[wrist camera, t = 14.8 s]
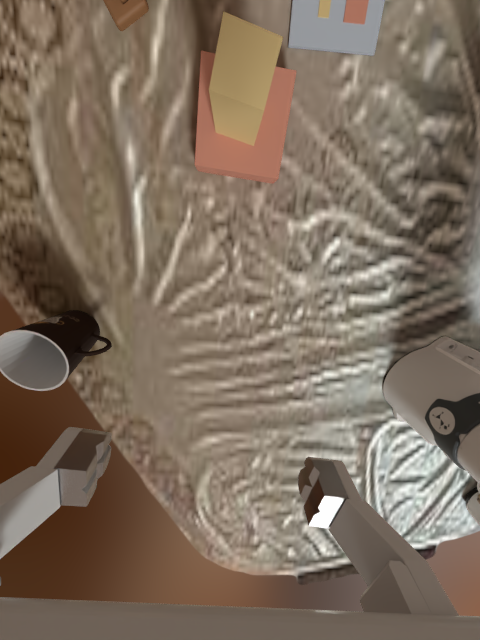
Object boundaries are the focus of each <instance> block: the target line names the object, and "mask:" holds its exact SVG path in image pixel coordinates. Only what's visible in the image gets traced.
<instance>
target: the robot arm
mask: <svg viewBox="0 0 480 640" xmlns="http://www.w3.org/2000/svg"><path fill="white" fill-rule="evenodd" d="M383 393H384V397H385V399H386V401H387V402H388V403H389V404H390V405H391V406H392V408H393V413H394V416H395V418H396V419H398V420H399V421H402V422H407V423H408V424H409V425H410V426H411V427H412V428H413V429H414V430H415V431H416V432H417V433H418V434H420V435H421V436H422V437H423V438H424V439H425V440H426V441H427V442H428V443H430V444H431V445H436V446H438V447H439V448H440V449H441V450H442V451H443V452H444V454H445V455H446V456H447V457H448V458H449V459H450V460H451V461H453V462H454V463H455V464H456V465H457V466H458V467H460V468H461V469H464V470H466V471H467V472H468V473H469V474H470V475H471V476H472V477H473V478H474V479H475V480H476V481H477V482H478V483H479V484H480V351H477V350H475V349H473V348H471V347H469V346H467V345H464V344H462V343H460V342H458V341H456V340H454V339H451V338H449V337H446V336H444V337H441V338H439V339H437V340H436V341H434V342H433V343H432V344H430V345H429V346H427V347H425V348H422V349H419V350H416V351H414V352H411V353H409V354H408V355H406V356H404V357H403V358H402V359H400V360H399V361H398V362H397V363H396V364H395V365H394V366H393V367H392V368H391V369H390V371H389V372H388V374H387V376H386V378H385V381H384V385H383ZM110 441H111V433H108V432H102V431H95V430H89V429H81V428H73V427H69V428H67V429H66V430H65V431H64V432H63V433H62V435H61V436H60V437H59V438H58V440H57V441H56V442H55V444H54V445H53V446H52V447H51V449H50V450H49V451H48V452H47V453H46V455H45V456H44V457H43V458H42V460H41V461H40V462H39V464H38V465H37V466H36V467H29V468H28V469H26V470H24V471H23V472H21V473H19V474H18V475H16V476H14V477H12V478H11V479H9V480H7V481H5V482H4V483H2V484H0V559H1V558H2V557H3V556H4V555H5V554H6V553H8V552H9V551H10V550H11V549H12V548H13V547H15V546H16V545H17V544H18V543H19V542H20V541H21V540H22V539H24V538H25V537H26V536H27V535H28V534H30V533H31V532H32V531H33V530H34V529H35V528H36V527H38V526H39V525H40V524H41V523H42V522H43V521H44V520H46V519H47V518H48V517H49V516H50V515H51V514H53V513H54V512H55V511H56V510H57V509H58V508H60V505H68V506H69V505H70V506H87V505H88V503H89V501H90V499H91V497H92V495H93V493H94V491H95V489H96V487H97V479H98V478H99V477H100V476H102V475H103V473H104V471H105V469H106V467H107V464H108V461H109V458H110V454H111V447H110V446H109V443H110ZM304 464H305V468H303V469H301V471H300V473H299V477H298V486H299V492H300V495H301V496H302V498H303V499H304V500H305V504H304V510H305V514H306V518H307V521H308V525H309V526H315V527H323V528H329V531H330V532H331V534H332V535H333V536H334V538H335V539H336V541H337V542H338V544H339V545H340V546H341V548H342V549H343V551H344V552H345V554H346V555H347V557H348V558H349V559H350V561H351V562H352V564H353V565H354V567H355V568H356V569H357V571H358V572H359V574H360V575H361V576H362V578H363V579H364V581H365V582H366V584H367V585H368V588H367V590H366V591H365V592H364V593H363V594H362V596H361V598H360V603H361V606H362V608H363V612H354V611H328V610H304V609H279V608H254V607H229V606H204V605H203V606H202V605H180V604H154V603H130V602H104V601H79V600H54V599H28V598H3V597H2V598H1V597H0V640H480V617H477V616H459V615H458V613H457V611H456V610H455V608H454V606H453V605H452V603H451V601H450V600H449V598H448V596H447V595H446V593H445V591H444V589H443V588H442V586H441V584H440V583H439V581H438V579H437V578H436V576H435V574H434V572H433V571H432V569H431V567H430V566H429V564H428V562H427V561H426V560H425V559H424V558H423V557H422V556H421V555H420V554H419V553H418V552H417V551H416V550H415V549H414V548H413V547H412V546H411V545H410V544H409V543H408V542H407V541H405V540H404V539H403V538H402V537H401V536H400V535H399V534H398V533H397V532H396V531H395V530H394V529H393V528H392V527H391V526H390V525H389V524H388V523H387V522H386V521H385V520H384V519H383V518H382V517H381V516H380V515H379V514H378V513H377V512H376V511H375V510H374V509H373V508H372V507H371V506H370V505H369V504H368V503H367V502H366V501H362V499H361V497H360V495H359V493H358V491H357V489H356V487H355V485H354V483H353V481H352V479H351V477H350V475H349V473H348V471H347V469H346V467H345V465H344V463H343V462H342V461H338V460H329V459H323V458H313V457H308V458H306V460H305V462H304ZM0 585H1V578H0Z"/></svg>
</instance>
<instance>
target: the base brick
mask: <svg viewBox="0 0 480 640" xmlns="http://www.w3.org/2000/svg"><path fill="white" fill-rule="evenodd" d="M214 59H215V53H210V52H206V51H201V63H200V80H199V98H198V116H197V134H196V152H195V166H196V168H197V170H198V171H200V172H206V173H212V174H219V175H225V176H231V177H237V178H243V179H249V180H255V181H261V182H267V183H274V182H275V181H276V180H277V179H278V177H279V171H280V165H281V159H282V153H283V147H284V141H285V136H286V130H287V124H288V118H289V112H290V106H291V100H292V94H293V89H294V83H295V77H296V71H295V70H290V69H285V68H281V67H275V71H274V74H273V78H272V82H271V86H270V90H269V94H268V98H267V101H266V105H265V109H264V113H263V116H262V120H261V123H260V127H259V130H258V133H257V137H256V140H255V144H254V146H252V145H249V144H246V143H244V142H241V141H238V140H235V139H232V138H230V137H227V136H224V135H221V134H219V133H216V131H215V125H214V119H213V113H212V107H211V100H210V94H209V86H210V81H211V76H212V70H213V65H214Z"/></svg>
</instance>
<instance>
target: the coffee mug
mask: <svg viewBox="0 0 480 640" xmlns="http://www.w3.org/2000/svg"><path fill="white" fill-rule="evenodd" d="M99 335H100V329H99V326H98V324H97V322H96V321H95V320H94V319H93V318H92V317H91V316H90V315H88V314H87V313H84V312H82V311H76V310H73V311H68V312H65V313H62V314H59V315H56V316H53V317H50V318H48V319H45V320H42V321H39V322H36V323H33V324H30V325H27V326H25V327H22V328H19V329H16V330H13V331H10V332H7V333H5V334H3V335H1V336H0V371H1V373H2V374H3V375H4V376H5V377H7V378H8V379H9V380H10V381H12V382H13V383H15V384H17V385H19V386H21V387H24V388H27V389H30V390H36V391H46V390H51V389H55V388H57V387H59V386H60V385H61V384H63V383H64V382H65V381H66V379H67V378H68V377H69V375H70V374H71V373H72V372H73V370H74V369H75V368H76V367H77V365H78V364H79V363H80V362H81V360H82V359H83V358H84V357H85V356H92V355H97V354H101V353H103V352H106V351H107V350H109V349H110V348H111V346H112V345H111V342H110V341H109V340H108V339H106V338H104V337H101V336H99ZM97 340H100V341H103V342H105V343H106V344H107V346H105V347H104V348H102V349H99V350H96V351H90V352H88V351H89V350H90V349H91V348H92V346H93V345H94V344H95V343H96V341H97Z"/></svg>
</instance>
